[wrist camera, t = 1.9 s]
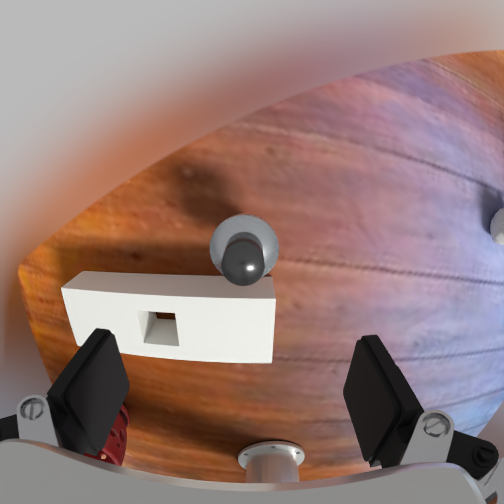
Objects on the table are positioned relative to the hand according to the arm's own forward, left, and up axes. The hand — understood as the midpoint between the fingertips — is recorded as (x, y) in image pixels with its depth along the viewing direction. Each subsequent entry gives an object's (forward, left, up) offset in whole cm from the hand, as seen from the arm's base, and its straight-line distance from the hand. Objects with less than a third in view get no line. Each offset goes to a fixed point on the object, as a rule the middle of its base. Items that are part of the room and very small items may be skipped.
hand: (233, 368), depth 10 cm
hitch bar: (-9, +9, -21) cm, 25 cm away
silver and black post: (0, 0, -22) cm, 22 cm away
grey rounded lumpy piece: (+3, -37, -22) cm, 43 cm away
